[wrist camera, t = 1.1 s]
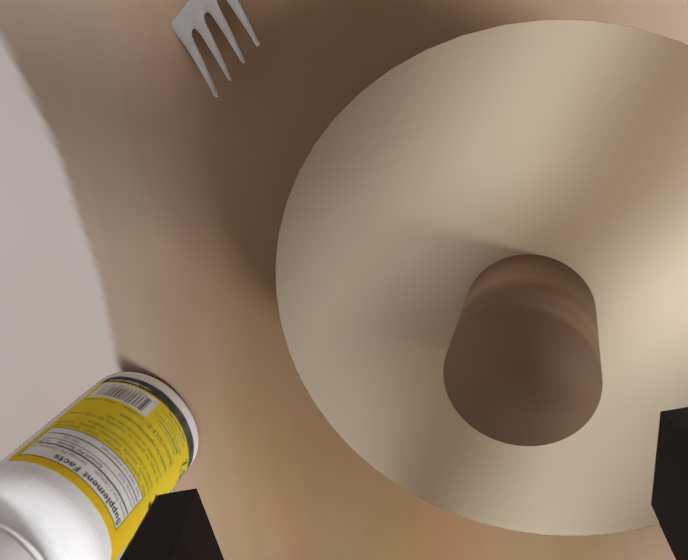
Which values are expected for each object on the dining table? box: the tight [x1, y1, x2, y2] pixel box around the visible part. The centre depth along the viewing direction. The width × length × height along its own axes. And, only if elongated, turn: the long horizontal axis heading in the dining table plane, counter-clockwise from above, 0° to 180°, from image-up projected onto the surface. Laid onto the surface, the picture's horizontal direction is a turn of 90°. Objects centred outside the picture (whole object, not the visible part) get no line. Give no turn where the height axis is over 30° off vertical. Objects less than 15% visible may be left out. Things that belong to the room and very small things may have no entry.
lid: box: [276, 20, 688, 536], centre depth 15 cm, size 13×13×4 cm
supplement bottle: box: [0, 372, 198, 560], centre depth 24 cm, size 5×5×10 cm
